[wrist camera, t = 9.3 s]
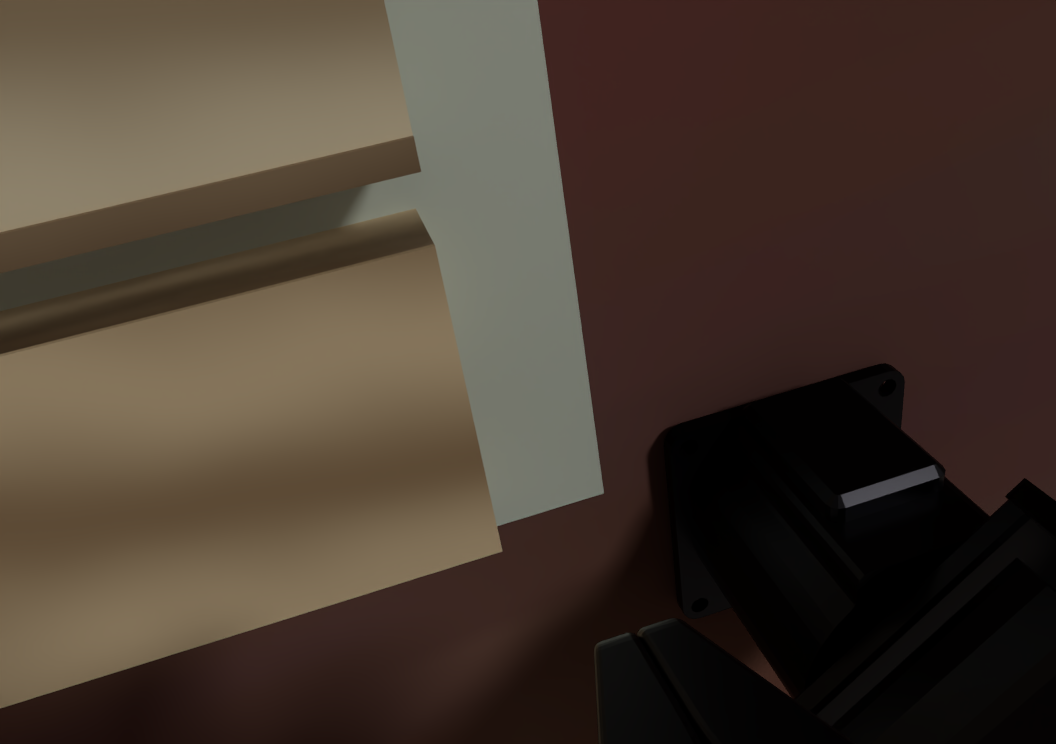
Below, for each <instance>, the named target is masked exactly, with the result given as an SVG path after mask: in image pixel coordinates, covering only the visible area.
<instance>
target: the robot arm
mask: <svg viewBox="0 0 1056 744" xmlns="http://www.w3.org/2000/svg"><path fill="white" fill-rule="evenodd" d="M884 381H886V382H885V383H884V385H883V386H882V387H880V385H881V384H882V383H883V382H884ZM904 384H905V382H904V376H903V375H902V374H901V373H900V372H899V371H898V370H896V369H895V368H894V367H893V366H891V365H889V364H886V363H885V364H878V365H875V366H871V367H868V368H865V369H861V370H858V371H855V372H851V373H848V374H845V375H841V376H838V377H835V378H831V379H828V380H825V381H821V382H818V383H815V384H811V385H808V386H805V387H801V388H798V389H795V390H791V391H788V392H785V393H781V394H778V395H775V396H771V397H768V398H765V399H761V400H758V401H754V402H751V403H748V404H744V405H741V406H738V407H734V408H731V409H728V410H724V411H721V412H718V413H714V414H711V415H708V416H704V417H701V418H698V419H694V420H691V421H688V422H684V423H681V424H679V425H677V426H675V427H673V428H672V429H671V430H670V431H669V432H668V434H667V435H666V437H665V440H664V453H665V465H666V476H667V488H668V499H669V511H670V522H671V533H672V545H673V556H674V568H675V579H676V591H677V601H678V604H679V606H680V608H681V609H682V611H683V613H684V614H685V615H686V616H687V617H688V618H692V619H696V618H701V617H704V616H707V615H710V614H713V613H716V612H719V611H722V610H725V609H728V608H731V607H732V608H733V610H734V611H735V613H736V614H737V616H738V617H739V619H740V620H741V622H742V623H743V625H744V626H745V628H746V629H747V631H748V632H749V634H750V635H751V637H752V638H753V640H754V641H755V643H756V644H757V646H758V647H759V649H760V650H761V652H762V653H763V655H764V656H765V658H766V659H767V661H768V662H769V664H770V665H771V667H772V668H773V670H774V671H775V673H776V674H777V676H778V678H779V679H780V681H781V682H782V684H783V685H784V687H785V688H786V690H787V691H788V693H789V694H790V696H791V697H792V698H791V697H790V696H788V695H787V694H785V693H784V692H782V691H781V690H780V689H778V688H777V687H775V686H774V685H773V684H771V683H770V682H768V681H767V680H766V679H764V678H763V677H761V676H760V675H759V674H757V673H756V672H754V671H753V670H752V669H750V668H749V667H747V666H746V665H745V664H743V663H742V662H740V661H739V660H738V659H736V658H735V657H733V656H732V655H731V654H729V653H728V652H726V651H725V650H723V649H722V648H721V647H719V646H718V645H716V644H715V643H714V642H712V641H711V640H709V639H708V638H707V637H705V636H704V635H702V634H701V633H700V632H698V631H697V630H695V629H694V628H693V627H691V626H690V625H688V624H687V623H686V622H684V621H682V620H680V619H676V618H671V619H667V620H664V621H661V622H658V623H655V624H652V625H649V626H646V627H643V628H641V629H640V630H639V631H638V632H637V636H636V635H635V634H634V633H625V634H622V635H619V636H616V637H613V638H610V639H607V640H604V641H601V642H599V643H597V644H596V645H595V648H594V665H595V684H596V704H597V723H598V743H599V744H1056V501H1055V500H1054V499H1052V498H1051V497H1050V496H1048V495H1047V494H1045V493H1044V492H1043V491H1041V490H1040V489H1039V488H1037V487H1036V486H1035V485H1033V484H1032V483H1031V482H1029V481H1028V480H1027V479H1025V478H1024V479H1023V480H1022V481H1021V482H1020V483H1019V484H1018V485H1017V486H1016V487H1015V488H1013V489H1012V490H1011V491H1010V492H1009V493H1008V494H1007V495H1006V496H1005V497H1006V498H1007V499H1008V500H1007V501H1006V502H1005V503H1004V504H1003V505H1002V506H1001V507H1000V508H999V509H998V510H997V511H996V512H995V513H993V514H992V515H991V516H989V515H988V514H987V513H985V512H984V511H983V510H982V509H981V508H980V507H979V506H977V505H976V504H975V503H974V502H973V501H972V500H971V499H970V498H968V497H967V496H966V495H965V494H964V493H963V492H962V491H961V490H959V489H958V488H957V487H956V486H955V485H954V484H953V483H951V482H950V481H949V480H948V479H947V478H946V477H945V469H944V467H943V465H941V464H940V463H939V462H938V461H937V460H936V459H935V458H933V457H932V456H931V455H930V454H929V453H928V452H926V451H925V450H924V449H923V448H922V447H921V446H920V445H918V444H917V443H916V442H915V441H914V440H913V439H912V438H910V437H909V436H908V435H907V434H906V433H905V432H904V431H902V430H901V421H902V409H903V397H904ZM879 387H880V388H879ZM687 440H691V442H690V443H689V444H688V445H687V446H685V447H684V448H680V446H681V445H682V444H683V443H684V442H686V441H687ZM698 599H699V600H698ZM696 600H697V601H696Z"/></svg>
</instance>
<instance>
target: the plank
mask: <svg viewBox="0 0 1056 744" xmlns="http://www.w3.org/2000/svg"><path fill="white" fill-rule="evenodd" d="M419 172H421V168H420V163H419V158H418V154H417V149H416V144H415V140H414V136H413V133H412V128H411V124H410V119H409V114H408V110H407V105H406V100H405V96H404V91H403V86H402V82H401V77H400V72H399V68H398V63H397V58H396V54H395V49H394V44H393V40H392V35H391V30H390V26H389V21H388V16H387V12H386V7H385V2H384V0H0V273H4V272H8V271H12V270H16V269H20V268H25V267H29V266H33V265H37V264H41V263H45V262H49V261H54V260H58V259H62V258H66V257H70V256H74V255H78V254H83V253H87V252H91V251H95V250H99V249H103V248H107V247H112V246H116V245H120V244H124V243H128V242H132V241H137V240H141V239H145V238H149V237H153V236H157V235H161V234H166V233H170V232H174V231H178V230H182V229H186V228H190V227H195V226H199V225H203V224H207V223H211V222H215V221H219V220H224V219H228V218H232V217H236V216H240V215H244V214H248V213H253V212H257V211H261V210H265V209H269V208H273V207H278V206H282V205H286V204H290V203H294V202H298V201H302V200H307V199H311V198H315V197H319V196H323V195H327V194H331V193H336V192H340V191H344V190H348V189H352V188H356V187H360V186H365V185H369V184H373V183H377V182H381V181H385V180H389V179H394V178H398V177H402V176H406V175H410V174H414V173H419Z"/></svg>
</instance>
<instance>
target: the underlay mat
mask: <svg viewBox="0 0 1056 744" xmlns="http://www.w3.org/2000/svg"><path fill="white" fill-rule="evenodd" d="M384 2H385V7H386V12H387V16H388V21H389V26H390V30H391V35H392V40H393V44H394V49H395V54H396V58H397V63H398V68H399V72H400V77H401V82H402V86H403V91H404V96H405V100H406V105H407V110H408V114H409V119H410V124H411V128H412V133H413V136H414V140H415V144H416V149H417V154H418V158H419V163H420V168H421V172H419V173H414V174H410V175H406V176H402V177H398V178H394V179H389V180H385V181H381V182H377V183H373V184H369V185H365V186H360V187H356V188H352V189H348V190H344V191H340V192H336V193H331V194H327V195H323V196H319V197H315V198H311V199H307V200H302V201H298V202H294V203H290V204H286V205H282V206H278V207H273V208H269V209H265V210H261V211H257V212H253V213H248V214H244V215H240V216H236V217H232V218H228V219H224V220H219V221H215V222H211V223H207V224H203V225H199V226H195V227H190V228H186V229H182V230H178V231H174V232H170V233H166V234H161V235H157V236H153V237H149V238H145V239H141V240H137V241H132V242H128V243H124V244H120V245H116V246H112V247H107V248H103V249H99V250H95V251H91V252H87V253H83V254H78V255H74V256H70V257H66V258H62V259H58V260H54V261H49V262H45V263H41V264H37V265H33V266H29V267H25V268H20V269H16V270H12V271H8V272H4V273H0V311H3V310H7V309H11V308H15V307H19V306H23V305H27V304H31V303H35V302H39V301H43V300H47V299H51V298H55V297H60V296H64V295H68V294H72V293H76V292H80V291H84V290H88V289H92V288H96V287H100V286H104V285H108V284H112V283H116V282H120V281H124V280H128V279H132V278H136V277H140V276H144V275H148V274H152V273H157V272H161V271H165V270H169V269H173V268H177V267H181V266H185V265H189V264H193V263H197V262H201V261H205V260H209V259H213V258H217V257H221V256H225V255H229V254H233V253H237V252H241V251H245V250H250V249H254V248H258V247H262V246H266V245H270V244H274V243H278V242H282V241H286V240H290V239H294V238H298V237H302V236H306V235H310V234H314V233H318V232H322V231H326V230H330V229H334V228H338V227H342V226H347V225H351V224H355V223H359V222H363V221H367V220H371V219H375V218H379V217H383V216H387V215H391V214H395V213H399V212H403V211H407V210H411V209H415V208H416V210H417V212H418V214H419V216H420V218H421V220H422V222H423V224H424V226H425V227H426V229H427V231H428V233H429V235H430V237H431V239H432V241H433V243H434V245H435V248H436V252H437V257H438V261H439V266H440V270H441V275H442V279H443V284H444V288H445V293H446V297H447V302H448V307H449V311H450V316H451V320H452V325H453V329H454V334H455V338H456V343H457V347H458V352H459V356H460V361H461V366H462V370H463V375H464V379H465V384H466V388H467V393H468V397H469V402H470V406H471V411H472V416H473V420H474V425H475V429H476V434H477V438H478V443H479V447H480V452H481V456H482V461H483V465H484V470H485V475H486V479H487V484H488V488H489V493H490V497H491V502H492V506H493V511H494V515H495V520H496V524H497V526H499V525H502V524H506V523H509V522H512V521H515V520H519V519H522V518H525V517H528V516H532V515H535V514H538V513H541V512H545V511H548V510H551V509H554V508H558V507H561V506H564V505H567V504H571V503H574V502H577V501H580V500H584V499H587V498H590V497H593V496H597V495H600V494H603V493H604V491H603V483H602V476H601V469H600V461H599V454H598V446H597V439H596V432H595V424H594V417H593V409H592V402H591V395H590V387H589V380H588V373H587V365H586V358H585V350H584V343H583V336H582V328H581V321H580V313H579V306H578V299H577V291H576V284H575V276H574V269H573V262H572V254H571V247H570V239H569V232H568V225H567V217H566V210H565V202H564V195H563V188H562V180H561V173H560V165H559V158H558V151H557V143H556V136H555V128H554V121H553V114H552V106H551V99H550V91H549V84H548V77H547V69H546V62H545V55H544V47H543V40H542V32H541V25H540V18H539V10H538V3H537V0H384Z"/></svg>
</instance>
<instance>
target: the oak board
mask: <svg viewBox="0 0 1056 744" xmlns="http://www.w3.org/2000/svg"><path fill="white" fill-rule="evenodd" d="M499 552H502V547H501V543H500V538H499V534H498V529H497V524H496V520H495V515H494V511H493V506H492V502H491V497H490V493H489V488H488V484H487V479H486V475H485V470H484V465H483V461H482V456H481V452H480V447H479V443H478V438H477V434H476V429H475V425H474V420H473V416H472V411H471V406H470V402H469V397H468V393H467V388H466V384H465V379H464V375H463V370H462V366H461V361H460V356H459V352H458V347H457V343H456V338H455V334H454V329H453V325H452V320H451V316H450V311H449V307H448V302H447V297H446V293H445V288H444V284H443V279H442V275H441V270H440V266H439V261H438V257H437V252H436V248H435V245H434V243H433V241H432V239H431V237H430V235H429V233H428V231H427V229H426V227H425V226H424V224H423V222H422V220H421V218H420V216H419V214H418V212H417V210H416V208H415V209H411V210H407V211H403V212H399V213H395V214H391V215H387V216H383V217H379V218H375V219H371V220H367V221H363V222H359V223H355V224H351V225H347V226H342V227H338V228H334V229H330V230H326V231H322V232H318V233H314V234H310V235H306V236H302V237H298V238H294V239H290V240H286V241H282V242H278V243H274V244H270V245H266V246H262V247H258V248H254V249H250V250H245V251H241V252H237V253H233V254H229V255H225V256H221V257H217V258H213V259H209V260H205V261H201V262H197V263H193V264H189V265H185V266H181V267H177V268H173V269H169V270H165V271H161V272H157V273H152V274H148V275H144V276H140V277H136V278H132V279H128V280H124V281H120V282H116V283H112V284H108V285H104V286H100V287H96V288H92V289H88V290H84V291H80V292H76V293H72V294H68V295H64V296H60V297H55V298H51V299H47V300H43V301H39V302H35V303H31V304H27V305H23V306H19V307H15V308H11V309H7V310H3V311H0V708H3V707H6V706H10V705H13V704H16V703H19V702H22V701H26V700H29V699H32V698H35V697H38V696H42V695H45V694H48V693H51V692H54V691H58V690H61V689H64V688H67V687H70V686H74V685H77V684H80V683H83V682H86V681H90V680H93V679H96V678H99V677H102V676H106V675H109V674H112V673H115V672H118V671H121V670H125V669H128V668H131V667H134V666H137V665H141V664H144V663H147V662H150V661H153V660H157V659H160V658H163V657H166V656H169V655H173V654H176V653H179V652H182V651H185V650H189V649H192V648H195V647H198V646H201V645H205V644H208V643H211V642H214V641H217V640H221V639H224V638H227V637H230V636H233V635H237V634H240V633H243V632H246V631H249V630H253V629H256V628H259V627H262V626H265V625H269V624H272V623H275V622H278V621H281V620H285V619H288V618H291V617H294V616H297V615H301V614H304V613H307V612H310V611H313V610H316V609H320V608H323V607H326V606H329V605H332V604H336V603H339V602H342V601H345V600H348V599H352V598H355V597H358V596H361V595H364V594H368V593H371V592H374V591H377V590H380V589H384V588H387V587H390V586H393V585H396V584H400V583H403V582H406V581H409V580H412V579H416V578H419V577H422V576H425V575H428V574H432V573H435V572H438V571H441V570H444V569H448V568H451V567H454V566H457V565H460V564H464V563H467V562H470V561H473V560H476V559H480V558H483V557H486V556H489V555H492V554H496V553H499Z"/></svg>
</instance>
